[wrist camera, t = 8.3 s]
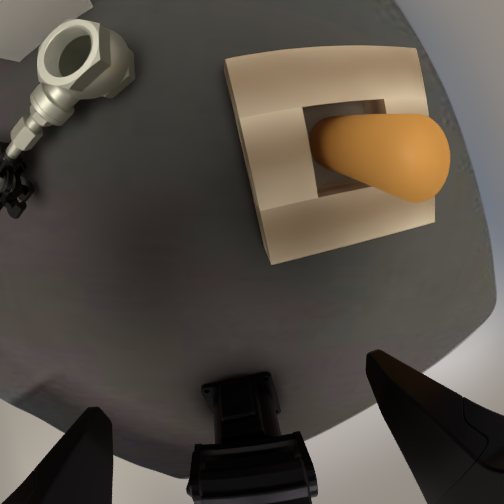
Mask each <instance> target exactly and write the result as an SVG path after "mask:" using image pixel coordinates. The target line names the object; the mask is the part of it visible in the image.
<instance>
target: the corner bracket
mask: <svg viewBox="0 0 504 504" xmlns="http://www.w3.org/2000/svg"><path fill="white" fill-rule="evenodd" d="M91 8H93V6H92V3H91V1H90V0H0V58H2V59H7V60H12V61H16V62H20V61H21V60H22V59H23V58H24V57H26V56H27V55H28V54H29V53H30V52H31V51H33V50H34V49H35V48H36V47H38V46H39V45H40V44H41V43H42V42H43V41H44V40H45V39H46V38H47V36H48V35H49V34H50V33H51V32H52V31H53V30H54V29H56V28H57V27H58V26H59V25H60V24H61V23H63V22H64V21H65V20H67V19H68V18H71V19H76V18H77V17H79V16H80V15H82V14H83V13H85V12H86V11H88V10H90V9H91Z"/></svg>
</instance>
